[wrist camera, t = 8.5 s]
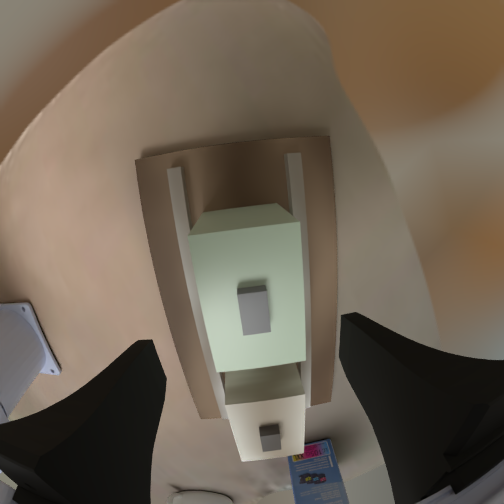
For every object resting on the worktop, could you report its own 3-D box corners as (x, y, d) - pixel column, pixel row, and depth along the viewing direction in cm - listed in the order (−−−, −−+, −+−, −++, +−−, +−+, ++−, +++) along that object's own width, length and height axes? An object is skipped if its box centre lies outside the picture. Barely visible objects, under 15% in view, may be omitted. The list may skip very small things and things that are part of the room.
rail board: (201, 411, 23) (196, 479, 15) (139, 160, 16) (79, 158, 9) (327, 394, 23) (352, 457, 16) (324, 137, 17) (384, 121, 9)
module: (220, 314, 19) (216, 380, 12) (202, 212, 17) (184, 239, 10) (285, 306, 19) (308, 367, 13) (277, 202, 17) (303, 224, 10)
